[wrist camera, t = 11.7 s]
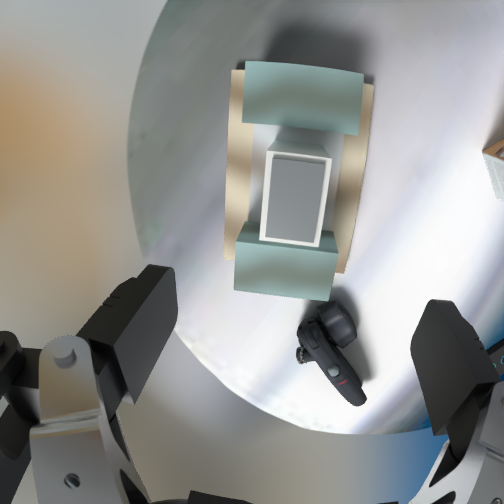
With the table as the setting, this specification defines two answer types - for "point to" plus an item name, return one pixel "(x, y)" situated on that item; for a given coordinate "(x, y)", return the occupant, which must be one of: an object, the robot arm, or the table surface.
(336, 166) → the rail board
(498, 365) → the smart home device
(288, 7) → the table surface
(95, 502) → the robot arm
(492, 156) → the small box
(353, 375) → the can opener
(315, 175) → the block
